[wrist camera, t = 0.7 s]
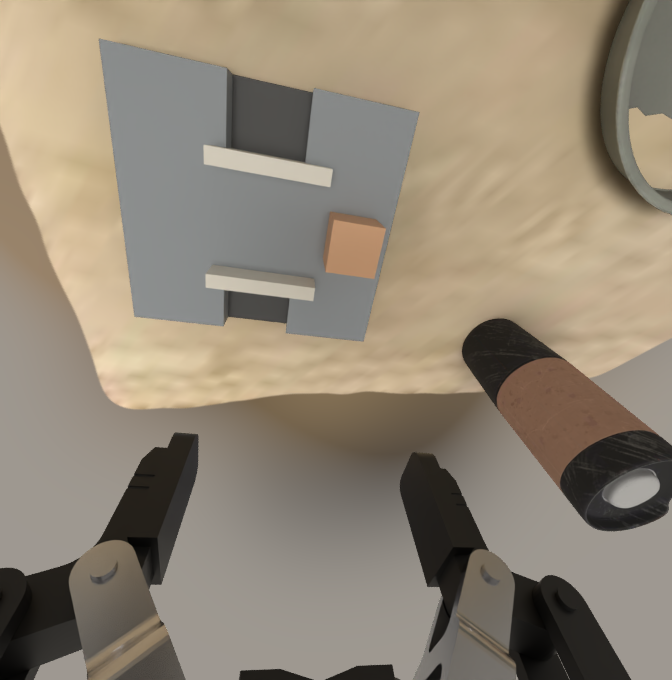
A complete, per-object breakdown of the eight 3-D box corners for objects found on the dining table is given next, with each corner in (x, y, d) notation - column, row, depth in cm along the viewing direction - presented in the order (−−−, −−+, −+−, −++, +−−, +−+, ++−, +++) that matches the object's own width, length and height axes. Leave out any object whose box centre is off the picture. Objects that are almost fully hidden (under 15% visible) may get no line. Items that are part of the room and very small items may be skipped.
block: (330, 211, 28) (333, 219, 24) (375, 219, 29) (386, 228, 25) (322, 258, 30) (325, 272, 26) (366, 264, 30) (374, 279, 27)
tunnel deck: (117, 48, 24) (76, 25, 19) (410, 115, 27) (430, 108, 23) (145, 305, 33) (121, 329, 29) (359, 330, 37) (367, 354, 32)
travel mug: (449, 338, 38) (572, 493, 21) (513, 303, 37) (702, 440, 19) (472, 381, 42) (593, 545, 24) (530, 352, 40) (703, 504, 23)
